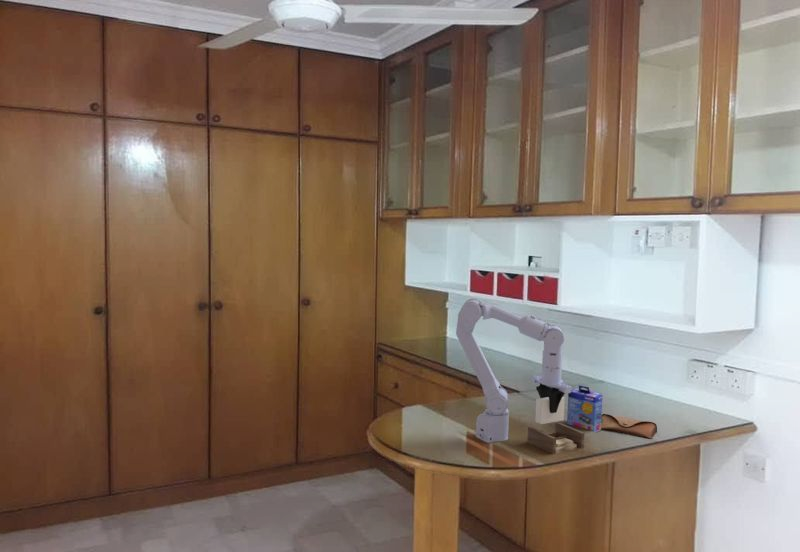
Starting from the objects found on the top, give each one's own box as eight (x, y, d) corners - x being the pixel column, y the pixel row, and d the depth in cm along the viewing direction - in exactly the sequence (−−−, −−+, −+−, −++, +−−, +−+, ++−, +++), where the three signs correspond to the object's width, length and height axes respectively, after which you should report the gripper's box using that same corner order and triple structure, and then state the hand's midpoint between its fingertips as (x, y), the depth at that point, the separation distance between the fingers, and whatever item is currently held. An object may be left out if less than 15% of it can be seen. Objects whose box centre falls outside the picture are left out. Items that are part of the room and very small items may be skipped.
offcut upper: (557, 447, 184) (557, 444, 184) (550, 444, 187) (550, 440, 186) (573, 444, 187) (573, 441, 187) (565, 441, 190) (566, 437, 189)
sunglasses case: (595, 429, 208) (598, 409, 210) (598, 434, 213) (601, 415, 216) (653, 439, 199) (656, 418, 202) (655, 445, 205) (658, 424, 207)
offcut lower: (555, 451, 183) (556, 448, 183) (547, 447, 186) (547, 444, 186) (576, 447, 187) (576, 444, 187) (567, 443, 190) (567, 440, 190)
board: (540, 424, 188) (541, 401, 187) (535, 421, 190) (536, 398, 190) (563, 420, 192) (564, 397, 192) (557, 417, 195) (558, 395, 194)
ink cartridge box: (565, 427, 210) (567, 383, 208) (573, 423, 214) (575, 381, 212) (593, 434, 203) (596, 389, 202) (601, 430, 207) (603, 386, 206)
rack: (552, 457, 182) (553, 438, 181) (527, 445, 191) (528, 427, 191) (583, 450, 187) (584, 432, 187) (557, 439, 197) (558, 422, 196)
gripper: (579, 370, 186) (577, 416, 187) (545, 360, 198) (543, 403, 199) (561, 372, 182) (559, 419, 183) (527, 362, 195) (525, 405, 196)
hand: (549, 411), depth 191 cm, fingers closed on board, 2 cm apart
